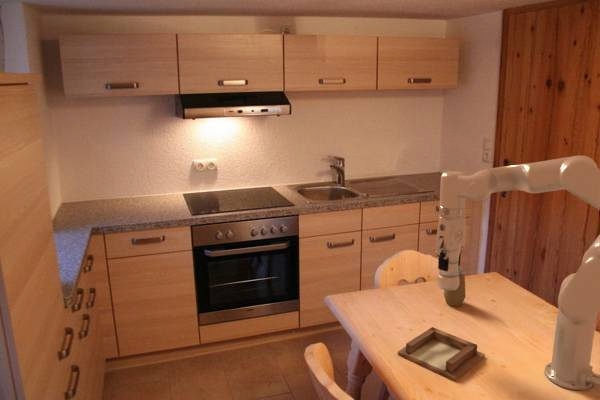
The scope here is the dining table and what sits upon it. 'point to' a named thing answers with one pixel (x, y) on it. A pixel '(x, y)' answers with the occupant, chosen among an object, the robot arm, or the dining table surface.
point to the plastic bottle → (450, 271)
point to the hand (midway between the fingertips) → (449, 266)
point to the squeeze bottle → (456, 292)
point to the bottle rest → (442, 353)
